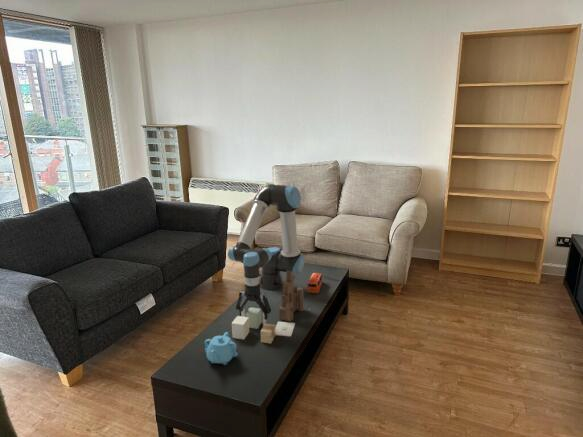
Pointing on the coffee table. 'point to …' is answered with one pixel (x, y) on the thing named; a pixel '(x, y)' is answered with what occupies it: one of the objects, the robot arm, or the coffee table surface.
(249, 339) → the coffee table surface
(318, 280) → the toy bus
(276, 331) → the page
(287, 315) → the wooden toy
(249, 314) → the sage block
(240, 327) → the cream block
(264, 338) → the maple base block
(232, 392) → the coffee table surface
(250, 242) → the robot arm
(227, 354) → the teapot
